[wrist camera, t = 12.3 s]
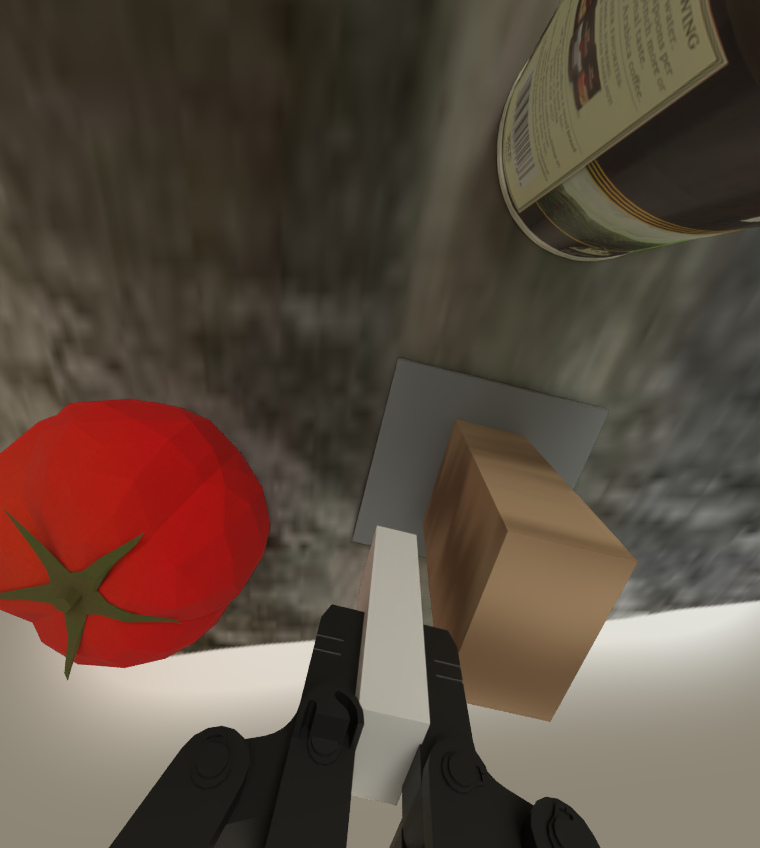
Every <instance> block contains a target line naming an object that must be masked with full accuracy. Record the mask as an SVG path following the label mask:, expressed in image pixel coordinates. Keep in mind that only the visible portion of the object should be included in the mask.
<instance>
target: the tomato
mask: <svg viewBox="0 0 760 848" xmlns="http://www.w3.org/2000/svg"><path fill="white" fill-rule="evenodd" d="M269 530H270V521H269V515H268V510H267V506H266V502H265V498H264V493H263V489H262V486H261V484H260V483H259V481H258V479H257V477H256V476H255V474H254V473H253V471H252V470H251V468H250V466H249V465H248V463H247V462H246V460H245V459H244V457H243V456H242V454H241V453H240V451H239V450H238V449H237V448H236V447H235V446H234V445H233V444H232V443H231V442H230V441H229V440H228V439H227V438H226V437H225V436H224V435H223V434H222V432H221V431H220V430H219V429H218V428H217V427H216V426H215V425H214V424H213V423H212V422H211V421H210V420H208V419H205V418H203V417H201V416H199V415H197V414H194V413H192V412H190V411H188V410H186V409H183V408H179V407H174V406H170V405H166V404H161V403H155V402H147V401H140V400H134V399H121V400H107V401H93V402H79V403H69V404H68V405H67V406H66V407H65V408H64V409H63V410H61V411H60V412H59V413H58V414H57V415H55V416H53V417H50V418H47V419H45V420H42V421H40V422H38V423H37V424H35V425H34V426H33V427H32V428H31V429H29V430H28V431H27V432H26V433H24V434H23V435H22V436H21V437H20V438H18V439H17V440H16V441H15V442H14V443H12V444H11V445H10V446H9V447H8V448H6V449H5V450H4V451H3V452H2V453H0V610H2V611H5V612H7V613H10V614H12V615H15V616H17V617H20V618H22V619H25V620H27V621H30V622H32V623H33V624H34V626H35V629H36V630H37V633H38V635H39V637H40V639H41V642H43V643H44V644H45V645H47V646H49V647H50V648H52V649H54V650H55V651H57V652H59V653H61V654H62V655H64V656H65V657H66V662H65V676H66V677H67V680H68V678H69V674H70V671H71V667H72V664H73V662H75V663H77V664H82V665H96V666H108V667H120V668H126V667H131V666H135V665H139V664H144V663H148V662H153V661H157V660H161V659H165V658H167V657H169V656H171V655H172V654H174V653H176V652H178V651H180V650H181V649H183V648H185V647H187V646H188V645H190V644H192V643H194V642H195V641H197V640H198V639H199V638H200V637H201V636H202V635H204V634H205V633H206V632H207V631H208V630H209V629H211V628H212V627H213V626H214V625H215V624H216V623H217V621H218V620H219V619H220V617H221V616H222V614H223V613H224V611H225V610H226V608H227V607H228V605H229V604H230V602H231V601H232V599H234V598H235V597H236V596H238V595H239V594H240V592H241V590H242V589H243V587H244V586H245V584H246V582H247V581H248V579H249V578H250V576H251V575H252V573H253V571H254V570H255V568H256V567H257V565H258V563H259V562H260V560H261V559H262V557H263V555H264V551H265V547H266V543H267V539H268V534H269Z"/></svg>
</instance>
